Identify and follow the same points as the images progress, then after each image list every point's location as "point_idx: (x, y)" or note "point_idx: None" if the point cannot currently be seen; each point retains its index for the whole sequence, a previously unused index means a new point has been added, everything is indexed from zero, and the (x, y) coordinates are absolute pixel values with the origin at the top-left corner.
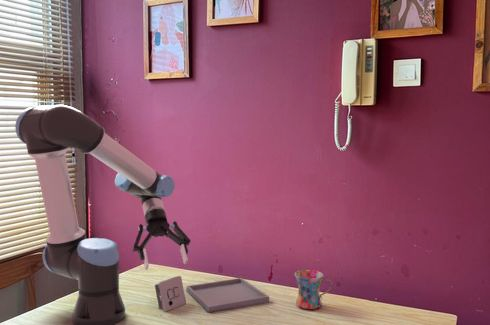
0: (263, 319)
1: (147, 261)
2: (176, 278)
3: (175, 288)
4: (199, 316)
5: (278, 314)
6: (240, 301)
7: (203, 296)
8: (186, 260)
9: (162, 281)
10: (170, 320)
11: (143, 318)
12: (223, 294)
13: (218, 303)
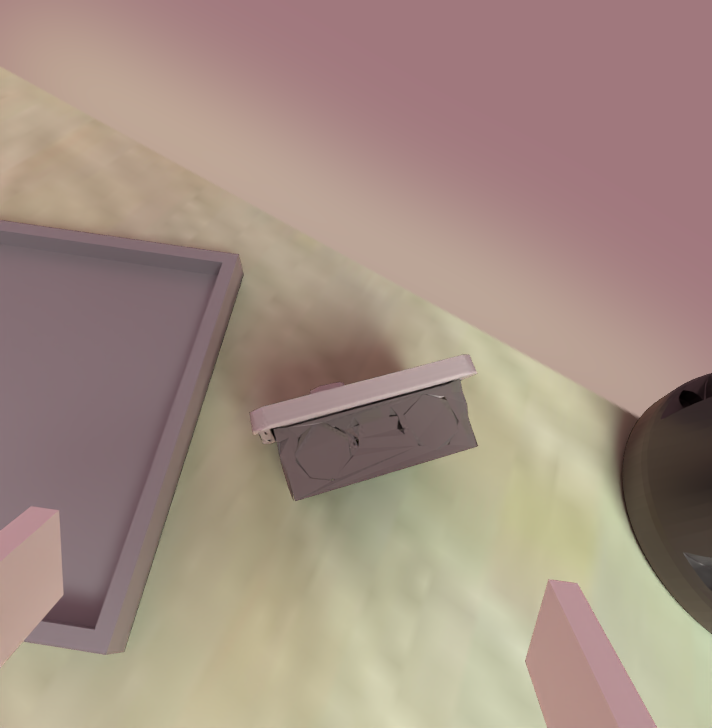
0: (110, 136)
1: (579, 627)
2: (303, 396)
3: (334, 386)
4: (296, 270)
5: (27, 136)
6: (65, 230)
7: (121, 449)
8: (49, 509)
9: (445, 362)
10: (427, 301)
11: (535, 383)
12: (3, 410)
13: (134, 318)
